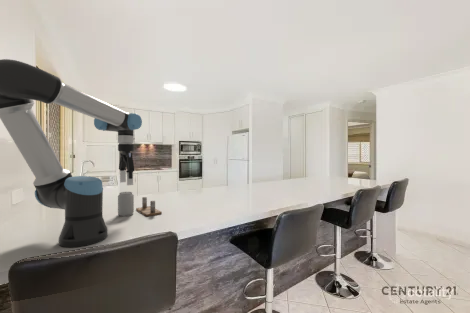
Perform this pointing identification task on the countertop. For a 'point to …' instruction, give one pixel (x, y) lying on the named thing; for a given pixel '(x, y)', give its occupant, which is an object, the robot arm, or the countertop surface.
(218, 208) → the countertop surface
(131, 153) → the robot arm
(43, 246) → the countertop surface
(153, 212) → the peg cradle
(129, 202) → the can
